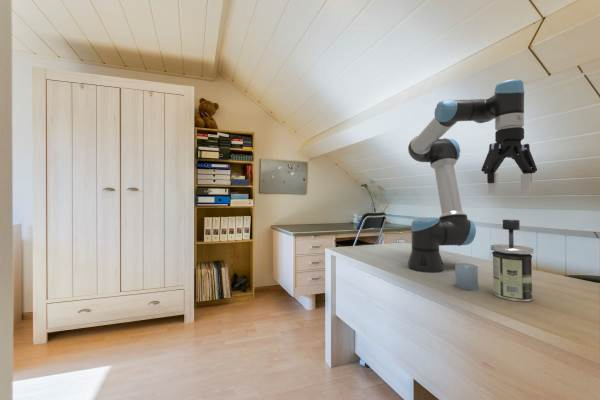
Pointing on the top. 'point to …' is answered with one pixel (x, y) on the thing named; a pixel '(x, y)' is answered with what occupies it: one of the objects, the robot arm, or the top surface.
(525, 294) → the coffee can
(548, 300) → the top surface
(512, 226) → the plunger
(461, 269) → the frosted blue tumbler
